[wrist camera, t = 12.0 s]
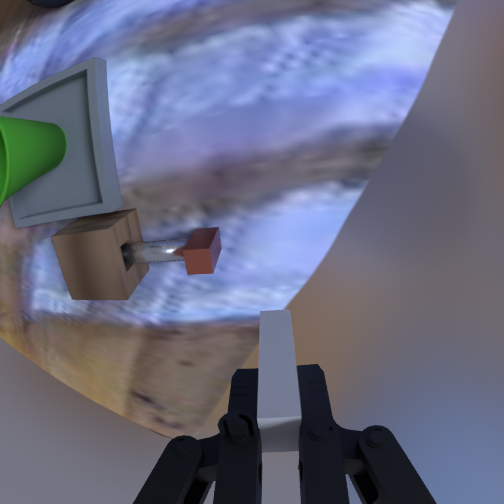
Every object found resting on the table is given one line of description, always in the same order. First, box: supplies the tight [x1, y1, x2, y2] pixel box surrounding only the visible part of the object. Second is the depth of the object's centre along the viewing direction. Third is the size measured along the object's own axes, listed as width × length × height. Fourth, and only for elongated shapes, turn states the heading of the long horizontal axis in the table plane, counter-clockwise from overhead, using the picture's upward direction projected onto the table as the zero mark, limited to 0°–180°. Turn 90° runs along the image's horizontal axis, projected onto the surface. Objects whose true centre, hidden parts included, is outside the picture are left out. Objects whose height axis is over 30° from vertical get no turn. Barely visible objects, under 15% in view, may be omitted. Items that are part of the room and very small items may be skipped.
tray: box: [0, 57, 123, 228], centre depth 25 cm, size 16×16×2 cm
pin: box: [120, 227, 221, 275], centre depth 26 cm, size 10×2×5 cm, turn 95°
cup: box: [0, 116, 67, 206], centre depth 20 cm, size 9×9×11 cm
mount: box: [51, 209, 149, 300], centre depth 27 cm, size 7×7×6 cm
